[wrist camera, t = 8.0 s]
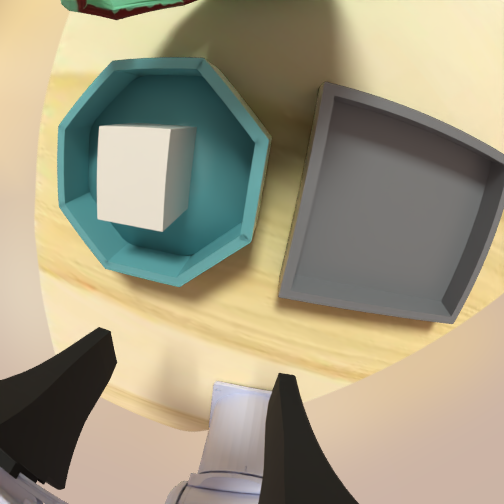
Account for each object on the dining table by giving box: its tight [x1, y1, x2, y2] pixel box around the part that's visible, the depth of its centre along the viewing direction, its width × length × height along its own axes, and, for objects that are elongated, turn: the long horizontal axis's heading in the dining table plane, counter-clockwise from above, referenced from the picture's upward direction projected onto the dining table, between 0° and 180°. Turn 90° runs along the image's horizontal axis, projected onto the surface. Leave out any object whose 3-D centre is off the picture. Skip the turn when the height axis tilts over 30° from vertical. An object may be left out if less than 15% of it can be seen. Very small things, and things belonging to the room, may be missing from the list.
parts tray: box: [278, 82, 504, 324], centre depth 15 cm, size 12×13×2 cm
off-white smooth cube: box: [97, 123, 197, 232], centre depth 15 cm, size 5×4×4 cm
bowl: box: [57, 57, 272, 287], centre depth 16 cm, size 13×13×3 cm
